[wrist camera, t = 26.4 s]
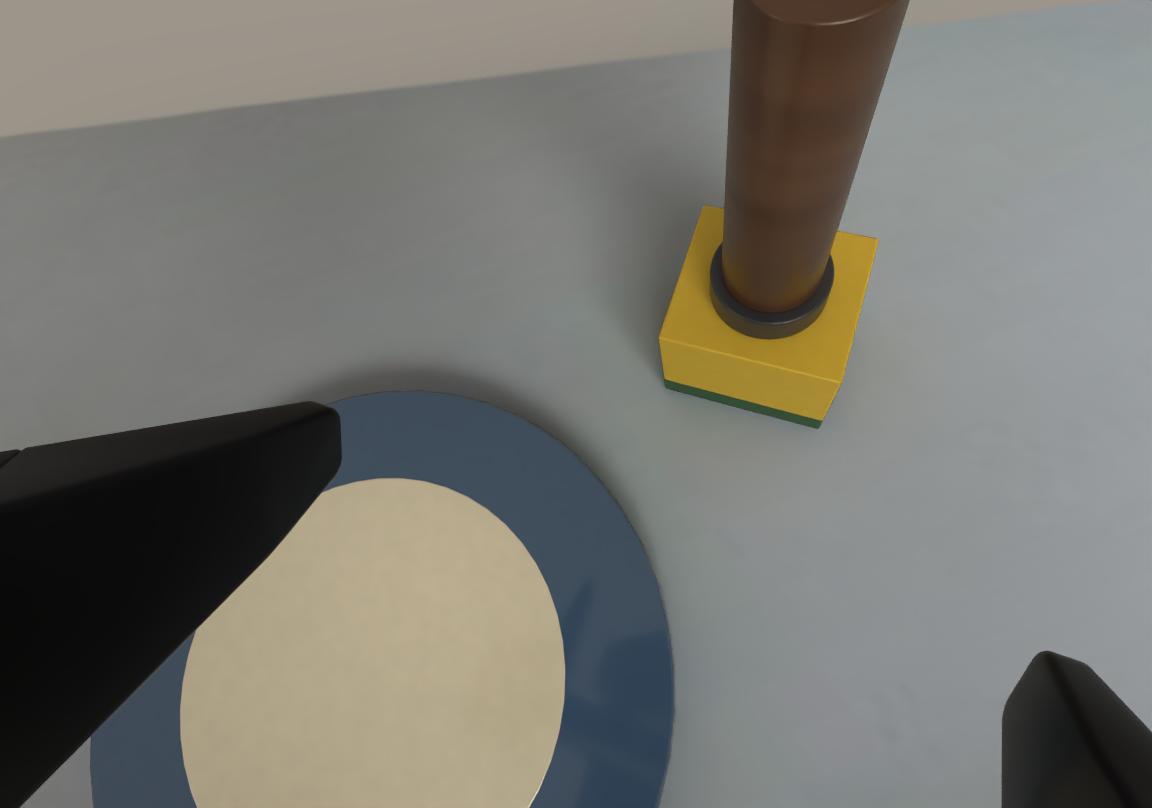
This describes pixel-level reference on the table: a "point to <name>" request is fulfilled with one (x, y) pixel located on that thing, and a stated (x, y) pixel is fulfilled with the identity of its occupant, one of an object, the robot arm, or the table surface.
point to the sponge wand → (784, 212)
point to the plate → (419, 640)
